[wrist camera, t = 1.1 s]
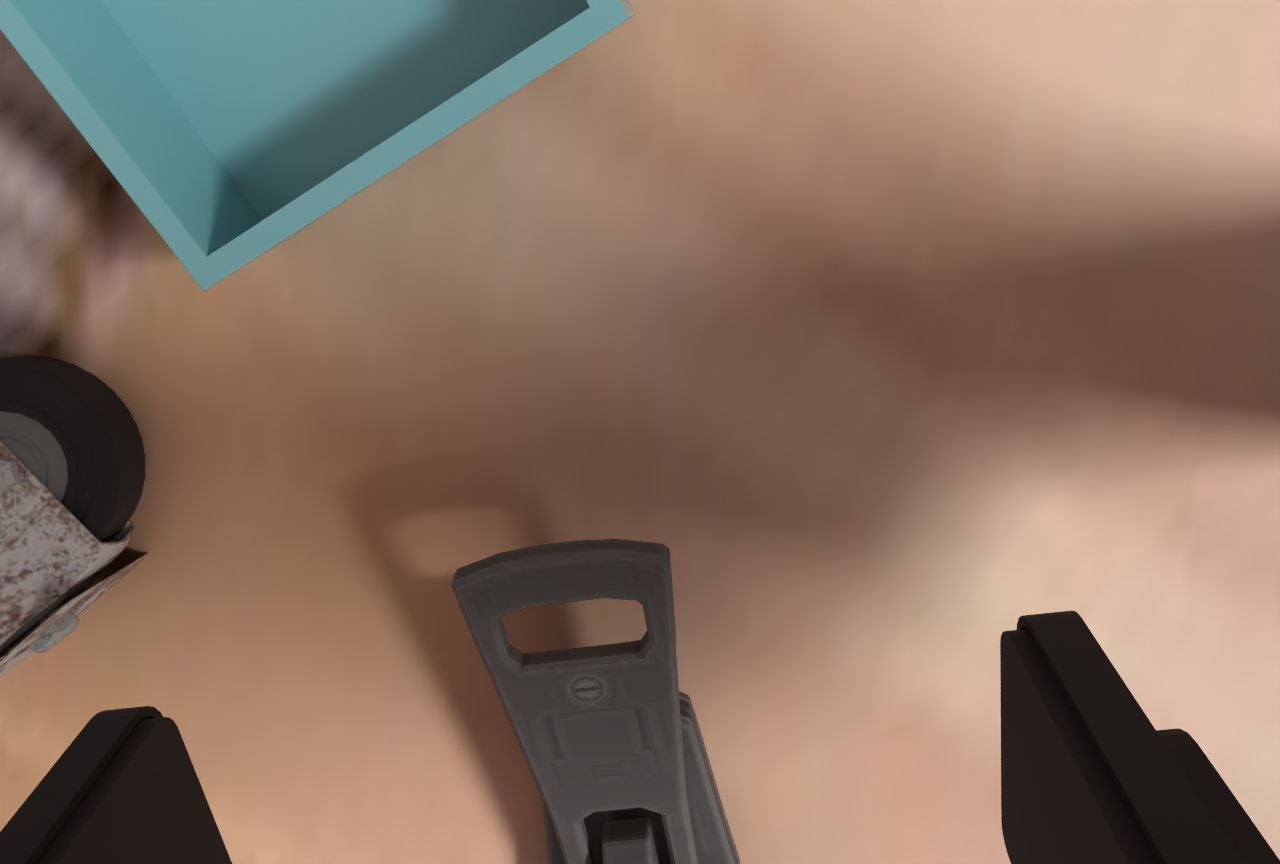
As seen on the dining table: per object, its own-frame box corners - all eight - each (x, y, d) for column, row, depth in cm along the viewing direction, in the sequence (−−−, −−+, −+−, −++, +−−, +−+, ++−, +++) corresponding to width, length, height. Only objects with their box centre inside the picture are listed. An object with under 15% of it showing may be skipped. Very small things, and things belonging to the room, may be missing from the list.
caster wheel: (68, 310, 41) (240, 493, 43) (-131, 486, 42) (44, 660, 43) (-31, 316, 35) (176, 532, 36) (-266, 525, 35) (-54, 729, 37)
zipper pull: (683, 538, 35) (759, 1037, 44) (680, 457, 41) (747, 911, 50) (427, 569, 35) (557, 1053, 45) (462, 484, 41) (569, 927, 51)
